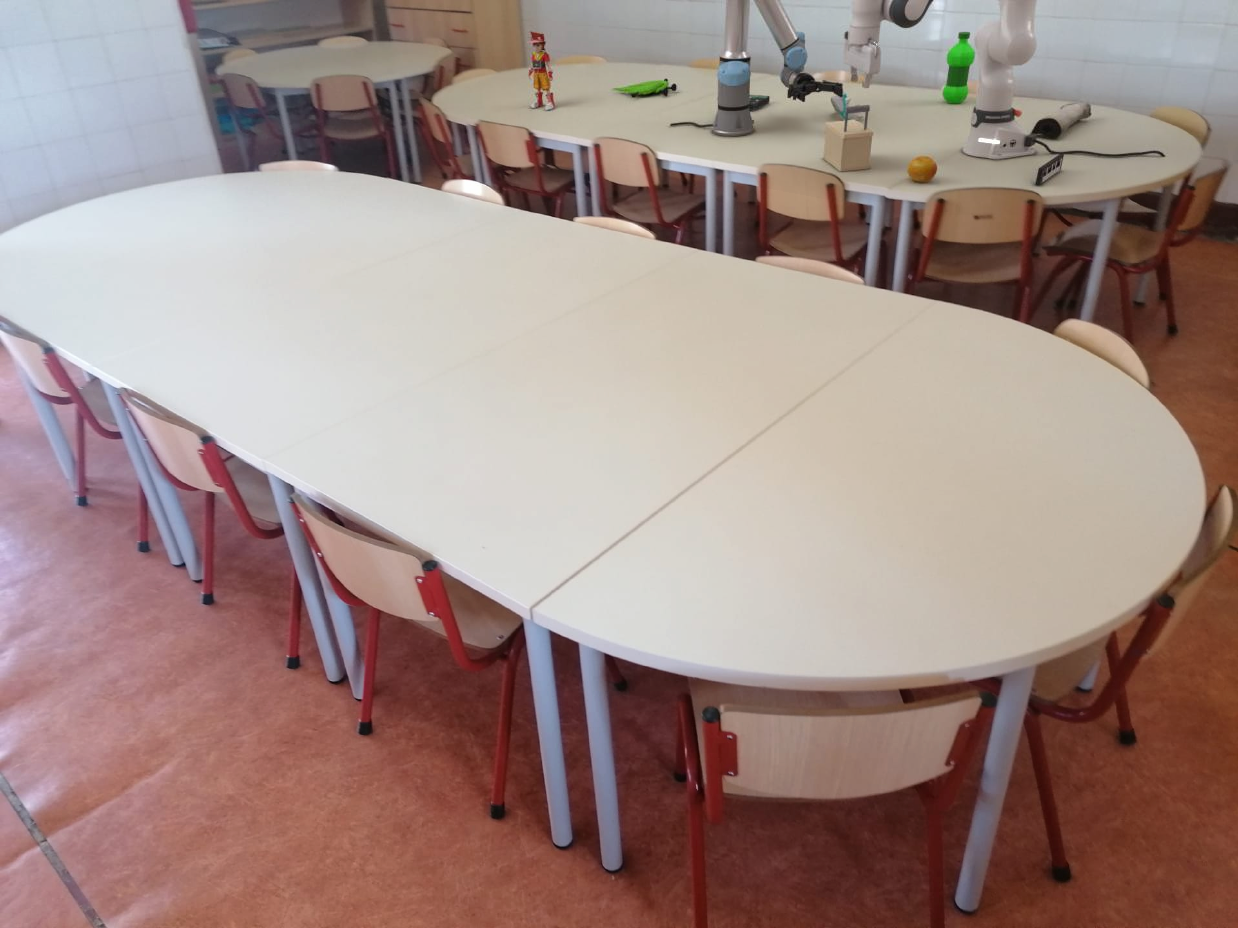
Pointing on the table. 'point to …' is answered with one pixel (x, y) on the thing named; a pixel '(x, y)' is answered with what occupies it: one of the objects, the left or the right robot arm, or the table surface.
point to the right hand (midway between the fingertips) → (859, 84)
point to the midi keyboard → (1049, 169)
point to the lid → (851, 124)
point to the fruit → (922, 169)
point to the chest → (847, 151)
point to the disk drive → (757, 101)
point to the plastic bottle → (958, 69)
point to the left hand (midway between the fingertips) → (823, 95)
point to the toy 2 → (648, 88)
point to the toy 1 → (541, 71)
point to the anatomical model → (843, 106)
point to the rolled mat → (1061, 119)
